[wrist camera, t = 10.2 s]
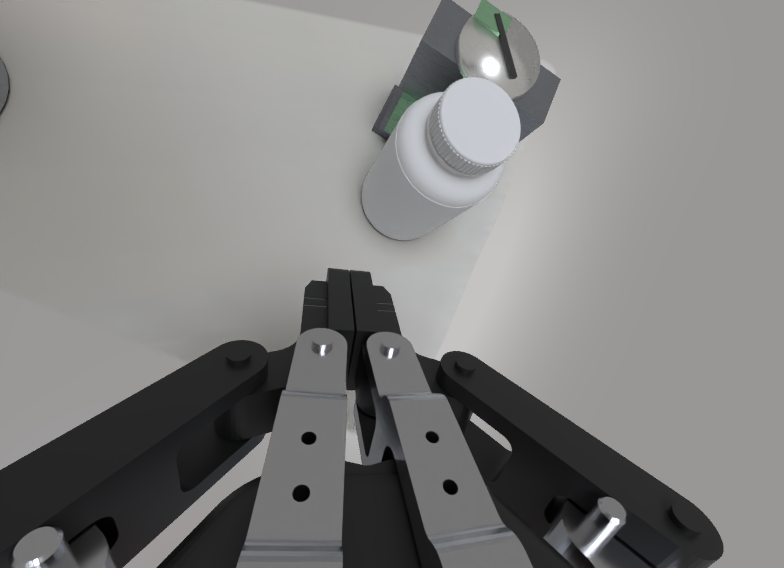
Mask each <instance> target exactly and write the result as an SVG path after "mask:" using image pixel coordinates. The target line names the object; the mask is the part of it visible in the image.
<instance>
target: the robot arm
mask: <svg viewBox="0 0 784 568" xmlns="http://www.w3.org/2000/svg"><path fill="white" fill-rule="evenodd" d="M8 90H9V85H8V75H7V72H6V69H5V66H4V64H3V62H2V60H1V59H0V111H1V109H2V108H3V106H4V104H5V102H6V99H7V94H8ZM345 384H346V390H355V392H356V400H355V405H354V418H355V424H356V430H357V436H358V442H359V448H360V453H361V460H362V465H360V464H355V463H351V462H346V461H345V442H346V417H347V395H345ZM472 413H475V414H476V415H477V416H478V417H480V418H481V419H482V420H484V421H485V422H486V423H488V424H489V425H490V426H491V427H493V428H494V429H495V430H497V431H498V432H499V433H500V434H502V435H503V436H504V437H505V438H506V439H507V440H508V441H509V443H510V444H511V447H512V452H511V451H509V450H507V449H505V448H504V447H503V446H502V445H500V444H499V443H498V442H497V441H495V440H494V439H493V438H491V437H490V436H489V435H488V434H486V433H485V432H484V431H483V430H481V429H480V428H479V427H478V426H476V425H475V424H474V423H473V422H471V421H470V418H471V416H472ZM269 432H272V434H271V438H270V443H269V447H268V451H267V455H266V459H265V463H264V468H263V472H262V475H261V476H260V477H258V478H256V479H254V480H252V481H250V482H248V483H246V484H244V485H243V486H241V487H240V488H238V489H237V490H235V491H234V492H232V493H231V494H230V495H229V496H227V497H226V498H225V499H224V500H222V501H221V502H220V503H219V504H218V505H217V507H215V508H214V509H213V510H212V511H211V512H210V513H209V514H208V515H207V516H206V518H205V519H204V520H203V521H202V522H201V523H200V524H199V525H198V526H197V527H196V528H195V529H194V530H193V531H192V532H191V533H190V534H189V535H188V536H187V537H186V538H185V539H184V540H183V541H182V542H181V543H180V544H179V546H177V547H176V548H175V549H174V550H173V551H172V552H171V554H170V555H168V557H167V558H166V559H165V560H164V561H163V562H162V563H161V564H160V565H159V566H158V567H157V568H708V567H709V566H710V565H712V564H713V563H714V562H715V561H717V560H718V559H719V558H720V557H721V556H722V554H723V542H722V540H721V537H720V535H719V533H718V531H717V530H716V528H715V526H714V525H713V524H712V522H711V521H710V520H709V519H708V518H707V516H706V515H705V514H704V513H703V512H702V511H701V510H700V509H698V508H697V507H696V506H695V505H694V504H693V503H691V502H690V501H689V500H687V499H685V498H684V497H683V496H681V495H680V494H678V493H677V492H675V491H674V490H672V489H671V488H669V487H668V486H666V485H665V484H663V483H662V482H660V481H659V480H657V479H656V478H654V477H653V476H652V475H650V474H649V473H647V472H646V471H644V470H643V469H641V468H640V467H638V466H637V465H635V464H633V463H632V462H631V461H629V460H628V459H626V458H625V457H623V456H622V455H620V454H619V453H617V452H616V451H614V450H613V449H611V448H610V447H608V446H607V445H605V444H604V443H602V442H601V441H600V440H598V439H597V438H595V437H594V436H592V435H591V434H589V433H588V432H586V431H585V430H583V429H582V428H580V427H579V426H577V425H576V424H574V423H573V422H571V421H570V420H568V419H567V418H565V417H564V416H562V415H561V414H559V413H558V412H556V411H555V410H553V409H552V408H550V407H549V406H548V405H546V404H545V403H543V402H542V401H540V400H538V399H537V398H536V397H534V396H533V395H531V394H530V393H528V392H527V391H525V390H524V389H522V388H521V387H519V386H518V385H516V384H515V383H513V382H512V381H510V380H509V379H507V378H506V377H504V376H503V375H501V374H500V373H498V372H497V371H496V370H494V369H492V368H491V367H489V366H488V365H487V364H485V363H484V362H482V361H481V360H479V359H478V358H476V357H474V356H472V355H470V354H468V353H465V352H460V351H452V352H448V353H446V354H445V355H443V357H442V359H441V361H438V360H434V359H430V358H427V357H424V356H421V355H419V354H417V353H415V351H414V349H413V346H412V344H411V343H410V342H409V341H408V340H407V339H406V338H405V337H403V336H402V335H401V331H400V327H399V324H398V320H397V316H396V312H395V309H394V305H393V301H392V298H391V294H390V293H389V292H388V291H387V290H386V289H385V288H384V287H383V286H373V284H372V279H371V274H370V272H365V271H355V270H350V271H349V270H343V269H333V268H328V272H327V280H326V282H325V281H313V280H312V281H311V282H310V283H309V284H308V285H307V286H306V287H305V294H304V304H303V314H302V324H301V333H300V336H299V337H298V339H297V341H296V342H295V343H294V344H293V345H291V346H290V347H288V348H286V349H283V350H279V351H274V352H269V353H267V351H266V349H265V348H264V347H263V346H261V345H260V344H258V343H256V342H252V341H246V340H237V341H231V342H228V343H225V344H222V345H220V346H219V347H217V348H215V349H213V350H211V351H210V352H208V353H206V354H204V355H203V356H201V357H199V358H197V359H196V360H194V361H192V362H190V363H188V364H187V365H185V366H183V367H182V368H180V369H178V370H176V371H175V372H173V373H171V374H169V375H167V376H166V377H164V378H162V379H160V380H159V381H157V382H155V383H153V384H151V385H150V386H148V387H146V388H144V389H143V390H141V391H139V392H137V393H136V394H134V395H132V396H130V397H128V398H127V399H125V400H123V401H122V402H120V403H118V404H116V405H114V406H113V407H111V408H109V409H107V410H106V411H104V412H102V413H100V414H99V415H97V416H95V417H93V418H91V419H90V420H88V421H86V422H85V423H83V424H81V425H79V426H77V427H76V428H74V429H72V430H70V431H68V432H67V433H65V434H63V435H62V436H60V437H58V438H56V439H55V440H53V441H51V442H49V443H48V444H46V445H44V446H42V447H40V448H38V449H37V450H35V451H33V452H31V453H30V454H28V455H26V456H24V457H23V458H21V459H19V460H17V461H16V462H14V463H12V464H10V465H8V466H7V467H5V468H3V469H2V470H0V568H123V567H124V566H125V565H126V564H127V563H128V562H129V561H130V560H131V559H132V558H134V557H135V556H136V555H137V554H138V553H139V552H140V551H141V550H142V549H143V548H145V547H146V546H147V545H148V544H149V543H150V542H151V541H152V540H153V539H155V538H156V537H157V536H158V535H159V534H160V533H161V532H162V531H163V530H164V529H165V528H167V526H169V525H170V524H171V523H172V522H173V521H174V520H175V519H177V518H178V517H179V516H180V515H181V514H182V513H183V512H184V511H185V510H186V509H187V508H189V507H190V506H191V505H192V504H193V503H194V502H195V501H196V500H197V499H199V498H200V497H201V496H202V495H203V494H204V493H205V492H206V491H207V490H208V489H210V487H212V486H213V485H214V484H215V483H216V482H217V481H218V480H219V479H221V478H222V477H223V476H224V475H225V474H226V473H227V472H228V471H229V470H230V469H232V467H234V466H235V465H236V464H237V463H238V462H239V461H240V460H241V459H243V458H244V457H245V456H246V455H247V454H248V453H249V452H250V451H251V450H252V449H254V448H255V447H256V446H257V445H258V444H259V443H260V442H261V441H262V439H263V438H264V436H265V434H266V433H269Z"/></svg>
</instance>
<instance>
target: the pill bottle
mask: <svg viewBox="0 0 784 568" xmlns="http://www.w3.org/2000/svg"><path fill="white" fill-rule="evenodd" d="M520 132H521V125H520V118H519V114H518V111H517V109H516V107H515V105H514V103H513V101H512V100H511V98H510V97H509V96H508V94H507V93H506V92H505V91H504V90H503V89H502V88H501V87H499V86H498V85H496V84H495V83H493V82H491V81H489V80H486V79H483V78H478V77H468V78H462V79H459V80H458V81H455V82H454V83H452V84H451V85H450V86H449V87H448V88H447V89H446V90H445V91H444V92H437V93H433V94H429V95H427V96H424V97H422V98H421V99H419V100H417V101H416V102H414V103H413V104H412V105H411V106H410V107H409V108H408V109H407V110H406V111H405V112H404V114H403V115H402V117H401V118H400V120H399V122H398V123H397V125H396V127H395V128H394V130H393V132H392V133H391V135H390V137H389V138H388V140H387V142H386V144H385V145H384V147H383V149H382V150H381V152H380V154H379V155H378V157H377V159H376V160H375V162H374V164H373V165H372V167H371V169H370V171H369V172H368V174H367V176H366V178H365V180H364V184H363V187H362V205H363V209H364V212H365V214H366V216H367V218H368V220H369V221H370V223H371V224H372V225H373V226H374V227H375V228H376V229H377V230H378V231H379V232H381V233H382V234H384V235H385V236H387V237H390V238H393V239H396V240H413V239H416V238H419V237H422V236H424V235H426V234H427V233H429V232H431V231H432V230H434V229H436V228H437V227H439V226H441V225H443V224H444V223H446V222H448V221H449V220H451V219H453V218H454V217H456V216H458V215H459V214H461V213H463V212H464V211H466V210H468V209H469V208H471V207H473V206H474V205H476V204H478V203H479V202H481V201H482V200H483V199H485V198H486V197H487V196H488V195H489V194H490V193H491V192H492V191H493V189H494V188H495V186H496V185H497V183H498V181H499V179H500V177H501V174H502V171H503V167H504V162H505V161H507V160H508V159H509V158H510V157H511V155H513V153H514V152H515V150H516V148H517V145H518V143H519V139H520Z"/></svg>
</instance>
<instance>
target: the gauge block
mask: <svg viewBox="0 0 784 568" xmlns="http://www.w3.org/2000/svg"><path fill="white" fill-rule="evenodd" d="M468 77H478V78H483V79H486V80H489V81H491V82H493V83H495V84H496V85H498V86H499V87H501V88H502V89H503V90H504V91H505V92H506V93H507V94H508V96H509V97H510V98H511V100H512V101H513V103H514V105H515V107H516V109H517V111H518V114H519V118H520V125H521V132H520V139H519V142H520V141H521V140H522V139H524V138H525V137H526V136H528V135H529V134H530V133H531V132H533V131H534V130H535V129H537V128H538V127H539V126H541V125H542V124H543V123H544V121H545V118H546V116H547V113H548V110H549V108H550V105H551V103H552V100H553V97H554V95H555V93H556V90H557V87H558V85H559V82H560V80H561V79H560V78H558V77H557V76H556V75H554V74H553V73H551V72H550V71H549V70H547V69H546V68H544V67H543V66H542V65H540V57H539V51H538V48H537V45H536V43H535V41H534V39H533V37H532V35H531V34H530V32H529V31H528V30H527V29H526V27H525V26H524V25H523V24H522V23H521V22H519V21H518V20H517V19H516V18H514V17H512V16H511V15H509V14H507V13H504V12H501V11H500V10H499V9H497V8H496V7H494V6H493V5H492V4H490V3H489V2H488V1H487V0H481V3H480V5H479V7H478V9H477V11H476V13H475V14H474V15H471V14H470V13H468V12H467V11H466V10H464V9H463V8H461V7H460V6H459V5H457V4H456V3H455V2H453V1H452V0H442V1H441V3H440V5H439V7H438V9H437V11H436V13H435V15H434V17H433V18H432V20H431V22H430V24H429V26H428V28H427V30H426V32H425V34H424V36H423V38H422V40H421V42H420V44H419V46H418V48H417V50H416V52H415V54H414V56H413V58H412V61H411V63H410V65H409V67H408V69H407V71H406V73H405V75H404V77H403V79H402V81H401V83H400V85H399V87H398V86H397V85H395V86H394V88H393V90H392V92H391V94H390V96H389V97H388V99H387V101H386V103H385V105H384V107H383V109H382V111H381V113H380V115H379V117H378V119H377V121H376V123H375V125H374V127H373V129H372V131H374V132H375V133H377V134H379V135H380V136H382V137H384V138H385V139H387V140H388V138H389V137H390V135H391V133H392V132H393V130H394V128H395V127H396V125H397V123H398V122H399V120H400V118H401V117H402V115H403V114H404V112H405V111H406V110H407V109H408V108H409V107H410V106H411V105H412V104H413V103H414V102H416V101H417V100H419V99H421V98H422V97H424V96H427V95H429V94H433V93H437V92H444V91H445V90H446V89H447V88H448V87H449V86H450V85H451V84H452V83H454V82H455V81H458V80H459V79H462V78H468Z"/></svg>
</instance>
